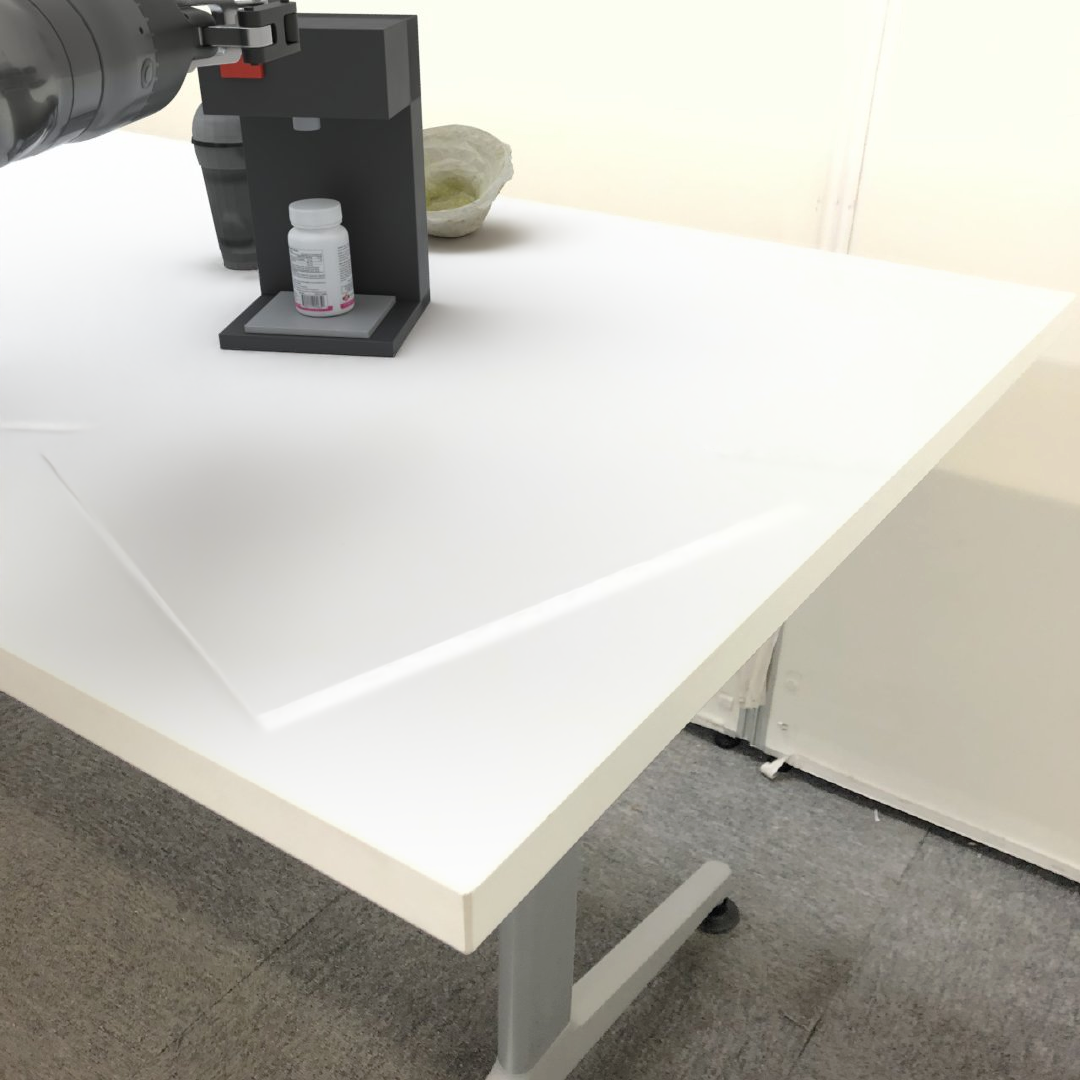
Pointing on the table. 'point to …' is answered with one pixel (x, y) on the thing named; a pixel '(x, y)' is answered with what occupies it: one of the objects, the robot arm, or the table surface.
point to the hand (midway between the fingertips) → (206, 15)
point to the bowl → (462, 177)
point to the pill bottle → (320, 258)
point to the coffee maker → (334, 177)
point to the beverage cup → (226, 186)
